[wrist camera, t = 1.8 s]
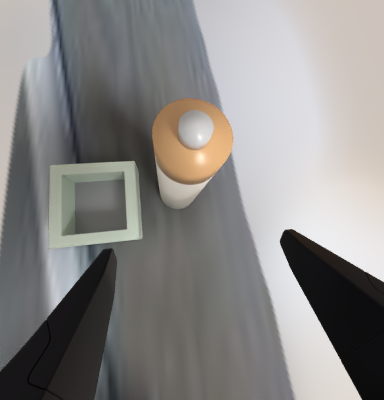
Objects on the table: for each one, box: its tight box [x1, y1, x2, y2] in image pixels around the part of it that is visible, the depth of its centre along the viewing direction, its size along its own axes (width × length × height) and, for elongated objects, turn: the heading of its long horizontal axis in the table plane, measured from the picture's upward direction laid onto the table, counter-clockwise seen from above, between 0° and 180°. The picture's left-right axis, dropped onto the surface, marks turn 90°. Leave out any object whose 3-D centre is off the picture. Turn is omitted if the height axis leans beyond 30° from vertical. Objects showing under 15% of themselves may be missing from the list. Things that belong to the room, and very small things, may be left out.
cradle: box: [49, 161, 143, 249], centre depth 19 cm, size 8×8×3 cm
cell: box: [152, 98, 233, 209], centre depth 15 cm, size 4×4×14 cm
